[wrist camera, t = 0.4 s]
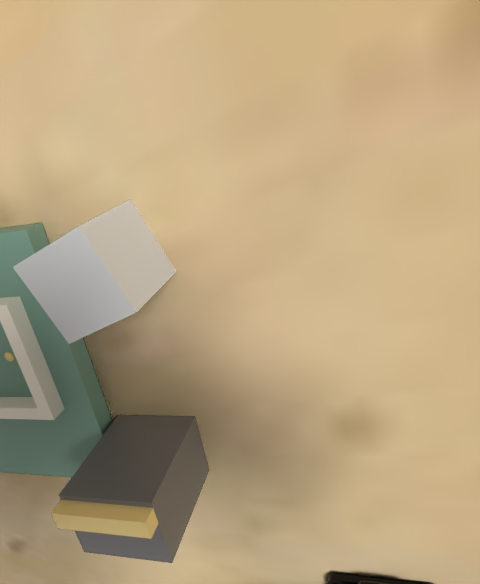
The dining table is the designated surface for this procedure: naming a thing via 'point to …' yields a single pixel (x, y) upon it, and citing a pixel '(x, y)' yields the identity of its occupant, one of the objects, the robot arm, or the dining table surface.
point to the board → (41, 376)
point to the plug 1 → (97, 272)
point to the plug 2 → (136, 488)
